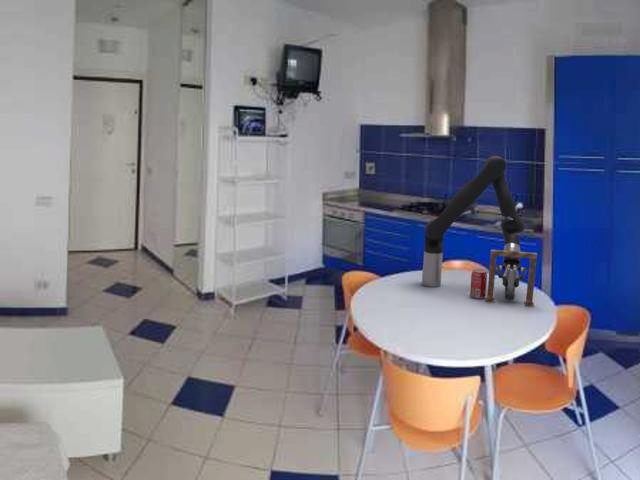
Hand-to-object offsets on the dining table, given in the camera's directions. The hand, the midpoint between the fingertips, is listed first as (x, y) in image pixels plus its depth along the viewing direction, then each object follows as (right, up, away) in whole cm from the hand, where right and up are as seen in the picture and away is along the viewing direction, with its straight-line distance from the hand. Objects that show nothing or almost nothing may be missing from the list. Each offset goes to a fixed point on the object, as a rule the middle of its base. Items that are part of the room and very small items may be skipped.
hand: (510, 286), depth 242 cm
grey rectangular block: (0, -6, +3) cm, 7 cm away
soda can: (-12, -6, +9) cm, 17 cm away
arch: (0, -8, +2) cm, 8 cm away
